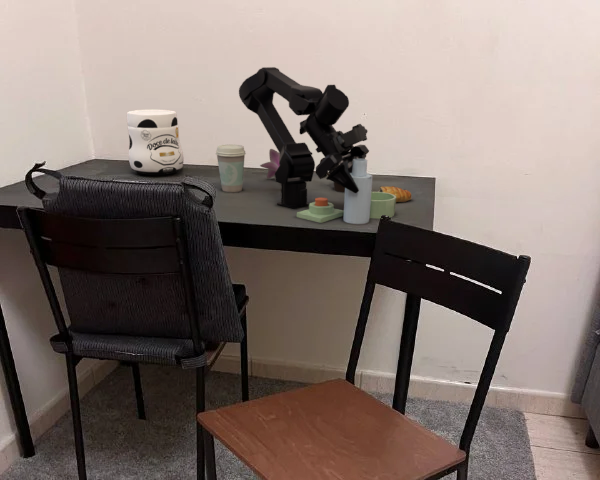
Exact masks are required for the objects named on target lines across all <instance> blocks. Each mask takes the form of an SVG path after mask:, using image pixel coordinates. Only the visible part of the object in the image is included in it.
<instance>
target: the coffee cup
mask: <svg viewBox="0 0 600 480" xmlns="http://www.w3.org/2000/svg"><path fill="white" fill-rule="evenodd" d="M246 154H247V153H246V150H245V147H244V146H243V145H241V144H221V145H217V147H216V151H215V155H216V158H217V164H218V171H219V177H220V184H221V190H222V192H225V193H238V192H242V191H243V184H244V170H245V169H244V168H245V155H246Z"/></svg>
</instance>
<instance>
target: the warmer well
mask: <svg viewBox="0 0 600 480" xmlns="http://www.w3.org/2000/svg"><path fill="white" fill-rule="evenodd" d="M396 203H397V202H396V196H395V195H393V194H390V193H385V192H378V191H371V205H370V218H369V219H378V220H379V219H380V218H381V216H382V215H386V216H389V218H392V217H394V216H395V213H396ZM381 219H382V218H381Z"/></svg>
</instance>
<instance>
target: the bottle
mask: <svg viewBox="0 0 600 480" xmlns="http://www.w3.org/2000/svg"><path fill="white" fill-rule="evenodd" d="M367 172H368V159H367V158H365V159H353V167H352V173H350V175H351V176H352V178H353V180H354V182H355V183H356V185H357V187H358V189H359V191H358V192H357V193H354V192H352V191H350V190H348V189H347V188H345V192H344V201H343V211H344V216H343V222H345V223H347V224H352V225H364V224H369V222H370V219H371V218H370V205H371V192H373V191H372V190H373V189H372V188H373V174H371V173H367Z"/></svg>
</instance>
